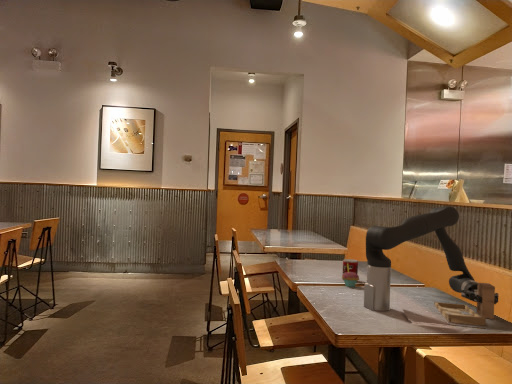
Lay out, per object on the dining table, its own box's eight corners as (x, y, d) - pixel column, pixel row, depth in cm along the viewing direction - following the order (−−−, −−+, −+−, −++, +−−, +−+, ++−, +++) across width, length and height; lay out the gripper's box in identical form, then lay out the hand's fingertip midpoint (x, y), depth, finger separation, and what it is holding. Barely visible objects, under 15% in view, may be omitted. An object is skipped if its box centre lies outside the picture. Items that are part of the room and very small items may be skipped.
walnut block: (476, 313, 151) (477, 282, 151) (487, 314, 150) (489, 283, 150) (481, 317, 145) (483, 285, 145) (493, 318, 144) (494, 286, 144)
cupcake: (346, 288, 191) (347, 263, 191) (338, 284, 199) (339, 260, 199) (362, 287, 193) (362, 263, 193) (353, 283, 201) (354, 260, 201)
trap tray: (434, 308, 160) (434, 299, 160) (466, 311, 157) (466, 302, 157) (448, 325, 138) (448, 314, 138) (485, 329, 135) (485, 318, 136)
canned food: (339, 279, 211) (340, 259, 211) (351, 278, 215) (351, 258, 215) (348, 282, 204) (349, 261, 205) (360, 281, 208) (361, 261, 208)
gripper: (455, 280, 163) (468, 289, 147) (492, 283, 160) (509, 293, 143) (454, 297, 163) (467, 309, 146) (491, 301, 160) (509, 313, 143)
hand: (488, 301), depth 145 cm, fingers closed on walnut block, 4 cm apart
